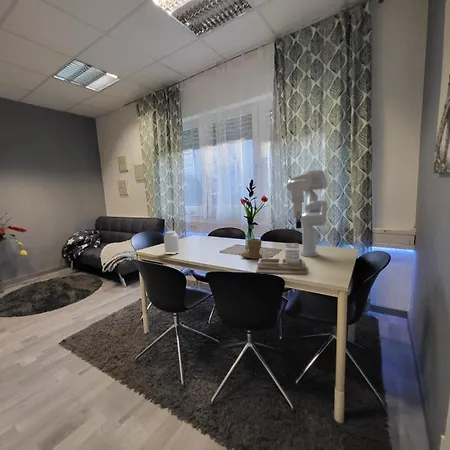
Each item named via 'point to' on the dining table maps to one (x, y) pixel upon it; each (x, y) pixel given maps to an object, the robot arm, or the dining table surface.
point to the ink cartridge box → (292, 253)
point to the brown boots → (253, 249)
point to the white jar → (171, 242)
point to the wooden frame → (281, 267)
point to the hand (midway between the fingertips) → (298, 226)
